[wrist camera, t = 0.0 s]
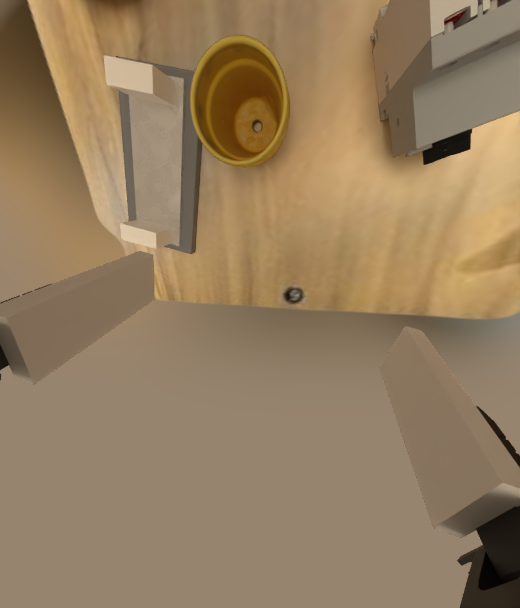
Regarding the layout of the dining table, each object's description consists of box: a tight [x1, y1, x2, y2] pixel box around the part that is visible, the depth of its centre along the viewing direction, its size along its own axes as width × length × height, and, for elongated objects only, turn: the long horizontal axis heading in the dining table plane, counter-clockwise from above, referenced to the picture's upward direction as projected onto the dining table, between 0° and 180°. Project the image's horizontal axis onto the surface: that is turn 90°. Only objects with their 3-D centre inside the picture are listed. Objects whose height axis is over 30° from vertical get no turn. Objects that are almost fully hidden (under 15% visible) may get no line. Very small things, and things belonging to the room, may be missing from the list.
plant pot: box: [190, 35, 290, 167], centre depth 27 cm, size 10×10×10 cm
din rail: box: [129, 75, 186, 246], centre depth 35 cm, size 22×8×1 cm, turn 168°
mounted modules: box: [104, 55, 176, 249], centre depth 33 cm, size 21×6×5 cm, turn 168°
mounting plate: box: [116, 56, 202, 254], centre depth 36 cm, size 24×12×2 cm, turn 168°
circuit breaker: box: [371, 0, 520, 165], centre depth 21 cm, size 8×14×15 cm, turn 20°
